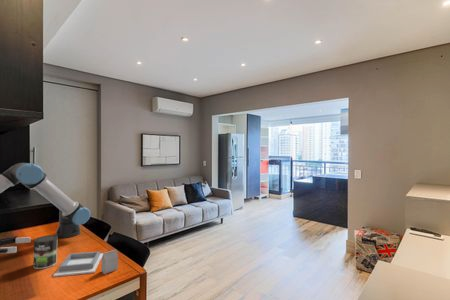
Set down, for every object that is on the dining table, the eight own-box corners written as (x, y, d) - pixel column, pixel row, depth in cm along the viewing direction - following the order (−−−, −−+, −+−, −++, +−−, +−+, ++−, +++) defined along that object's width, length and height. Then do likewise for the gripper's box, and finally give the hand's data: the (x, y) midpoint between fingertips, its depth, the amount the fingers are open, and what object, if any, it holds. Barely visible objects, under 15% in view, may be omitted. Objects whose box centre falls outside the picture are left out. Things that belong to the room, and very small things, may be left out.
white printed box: (117, 269, 125) (118, 250, 125) (104, 274, 120) (104, 254, 120) (114, 267, 127) (115, 248, 128) (101, 271, 122) (102, 252, 122)
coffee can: (52, 268, 124) (53, 241, 124) (28, 270, 121) (29, 242, 121) (60, 259, 134) (61, 234, 134) (38, 261, 131) (39, 235, 131)
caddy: (69, 257, 137) (69, 251, 137) (103, 254, 142) (103, 248, 142) (53, 276, 116) (53, 270, 116) (94, 272, 121) (94, 266, 121)
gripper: (-11, 245, 131) (34, 242, 137) (-49, 266, 107) (8, 262, 113) (-11, 231, 131) (35, 229, 137) (-48, 249, 107) (9, 246, 113)
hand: (23, 244), depth 125 cm, fingers open, 13 cm apart
